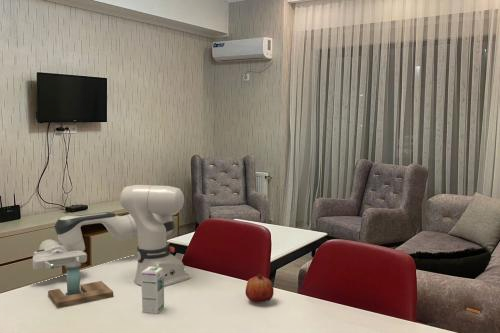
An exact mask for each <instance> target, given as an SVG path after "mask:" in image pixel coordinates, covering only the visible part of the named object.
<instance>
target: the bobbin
mask: <svg viewBox="0 0 500 333" xmlns="http://www.w3.org/2000/svg"><path fill="white" fill-rule="evenodd" d="M81 267H82V263H80V262H70V263H66V264H65V266H64V269H66V285H67V286H66V292H65V293H64V295H65V296H68V295H73V294H78V293H83V292H82V291H81V290H80V285H81V284H80V281H81V279H80V277H81V276H80V272H81V271H80V268H81Z"/></svg>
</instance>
